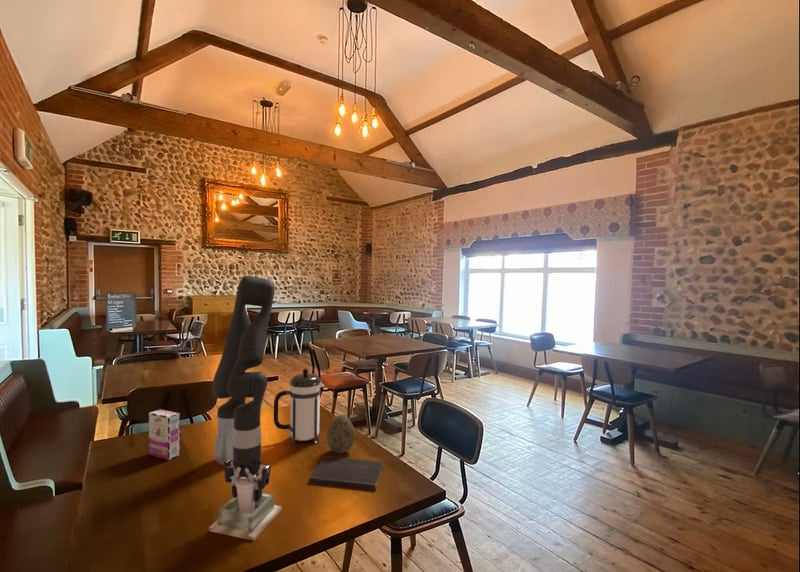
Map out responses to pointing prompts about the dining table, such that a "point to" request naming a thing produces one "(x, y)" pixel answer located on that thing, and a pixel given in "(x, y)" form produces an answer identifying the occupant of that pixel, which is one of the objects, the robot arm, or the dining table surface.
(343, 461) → the hardcover book
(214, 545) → the dining table surface
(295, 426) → the coffee press
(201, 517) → the dining table surface
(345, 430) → the decorative egg
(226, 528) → the green glass shallow box
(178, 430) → the candy bar box
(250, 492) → the smoothie
